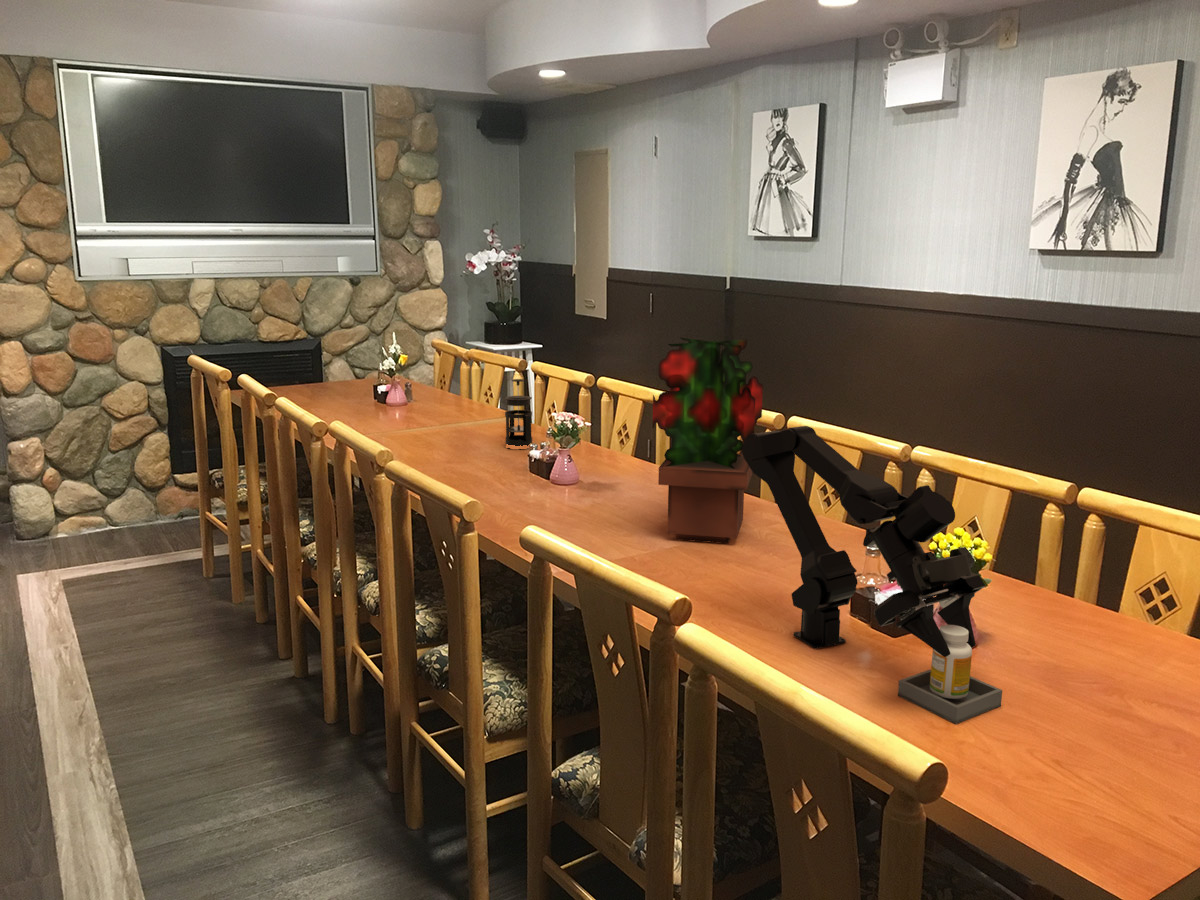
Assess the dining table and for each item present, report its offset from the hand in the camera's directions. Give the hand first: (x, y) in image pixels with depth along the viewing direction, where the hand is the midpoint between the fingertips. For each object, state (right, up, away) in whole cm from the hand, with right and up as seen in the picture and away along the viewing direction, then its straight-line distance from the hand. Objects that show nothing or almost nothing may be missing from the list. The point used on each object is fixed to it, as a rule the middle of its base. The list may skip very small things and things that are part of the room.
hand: (960, 651), depth 136 cm
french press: (-79, +30, +181) cm, 199 cm away
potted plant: (-27, +9, +84) cm, 89 cm away
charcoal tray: (-1, -8, +3) cm, 8 cm away
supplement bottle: (-1, -7, +3) cm, 7 cm away
